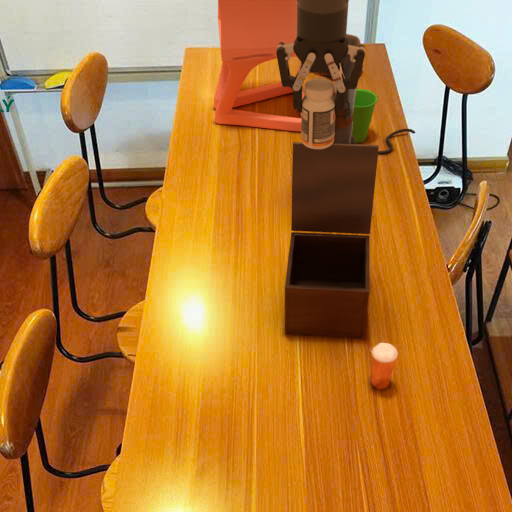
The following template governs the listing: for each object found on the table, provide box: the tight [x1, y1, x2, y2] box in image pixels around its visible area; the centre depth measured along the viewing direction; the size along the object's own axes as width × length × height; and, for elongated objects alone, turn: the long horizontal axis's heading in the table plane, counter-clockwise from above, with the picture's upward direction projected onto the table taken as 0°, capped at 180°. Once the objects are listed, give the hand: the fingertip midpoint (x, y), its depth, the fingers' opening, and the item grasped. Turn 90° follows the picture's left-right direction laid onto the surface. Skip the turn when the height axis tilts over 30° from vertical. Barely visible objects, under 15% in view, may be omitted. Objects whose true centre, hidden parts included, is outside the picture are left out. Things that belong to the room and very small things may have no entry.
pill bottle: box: [300, 77, 336, 149], centre depth 114 cm, size 6×6×10 cm
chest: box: [284, 231, 371, 340], centre depth 137 cm, size 17×16×12 cm
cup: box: [352, 88, 379, 144], centre depth 178 cm, size 9×9×11 cm
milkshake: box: [368, 342, 399, 390], centre depth 124 cm, size 4×5×10 cm
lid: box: [290, 141, 380, 235], centre depth 131 cm, size 17×16×1 cm
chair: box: [213, 0, 305, 133], centre depth 178 cm, size 24×26×35 cm
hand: (318, 110), depth 114 cm, fingers closed on pill bottle, 5 cm apart
